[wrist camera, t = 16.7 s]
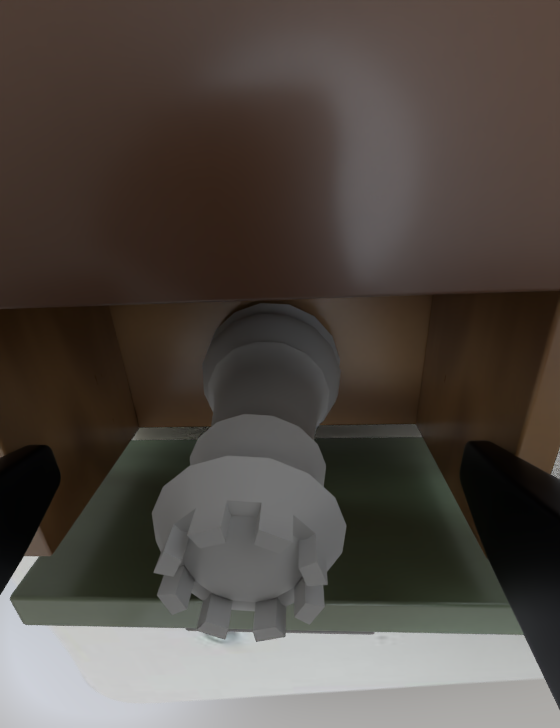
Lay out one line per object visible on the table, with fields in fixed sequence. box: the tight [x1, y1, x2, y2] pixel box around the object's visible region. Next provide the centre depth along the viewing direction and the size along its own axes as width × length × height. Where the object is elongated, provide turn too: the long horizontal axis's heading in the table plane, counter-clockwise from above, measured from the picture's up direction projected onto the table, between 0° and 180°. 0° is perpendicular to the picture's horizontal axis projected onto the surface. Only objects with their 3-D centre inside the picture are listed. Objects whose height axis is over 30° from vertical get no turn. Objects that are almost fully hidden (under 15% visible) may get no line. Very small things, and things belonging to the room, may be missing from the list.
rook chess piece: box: [152, 303, 346, 642], centre depth 9 cm, size 4×4×8 cm
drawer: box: [0, 291, 560, 635], centre depth 11 cm, size 19×13×7 cm
